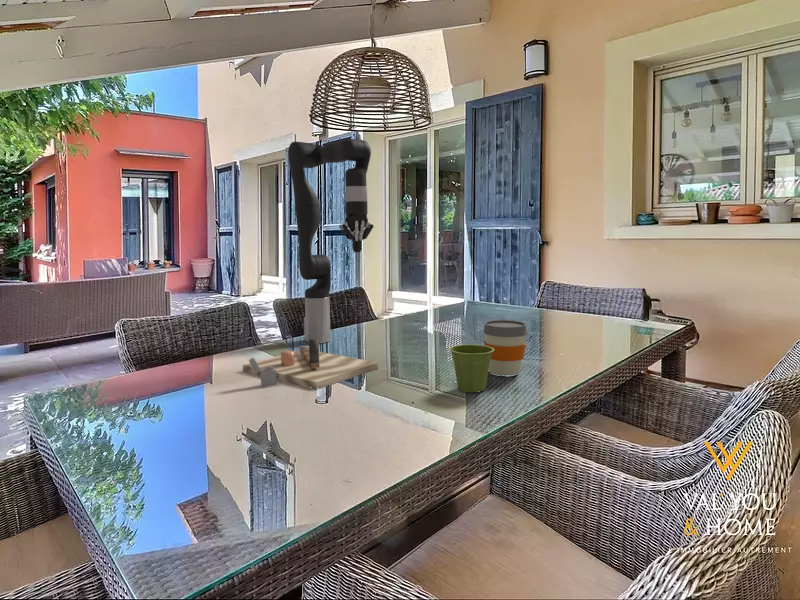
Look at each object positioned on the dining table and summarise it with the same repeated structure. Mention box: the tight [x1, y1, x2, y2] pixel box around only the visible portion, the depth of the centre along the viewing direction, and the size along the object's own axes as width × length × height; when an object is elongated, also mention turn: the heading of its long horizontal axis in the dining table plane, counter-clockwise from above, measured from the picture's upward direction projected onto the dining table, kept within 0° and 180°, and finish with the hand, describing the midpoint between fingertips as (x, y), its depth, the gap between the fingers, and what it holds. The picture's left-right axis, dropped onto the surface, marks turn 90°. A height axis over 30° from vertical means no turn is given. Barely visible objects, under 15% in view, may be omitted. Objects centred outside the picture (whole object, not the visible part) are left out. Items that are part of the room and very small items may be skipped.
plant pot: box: [448, 344, 494, 393], centre depth 143 cm, size 12×12×11 cm
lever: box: [299, 339, 320, 368], centre depth 167 cm, size 22×3×8 cm, turn 19°
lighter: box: [248, 357, 278, 387], centre depth 149 cm, size 7×2×8 cm, turn 106°
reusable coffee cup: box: [483, 319, 528, 375], centre depth 159 cm, size 13×13×15 cm
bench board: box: [242, 350, 379, 389], centre depth 165 cm, size 32×26×2 cm
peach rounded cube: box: [280, 350, 295, 366], centre depth 163 cm, size 4×4×4 cm
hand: (357, 252), depth 183 cm, fingers closed
